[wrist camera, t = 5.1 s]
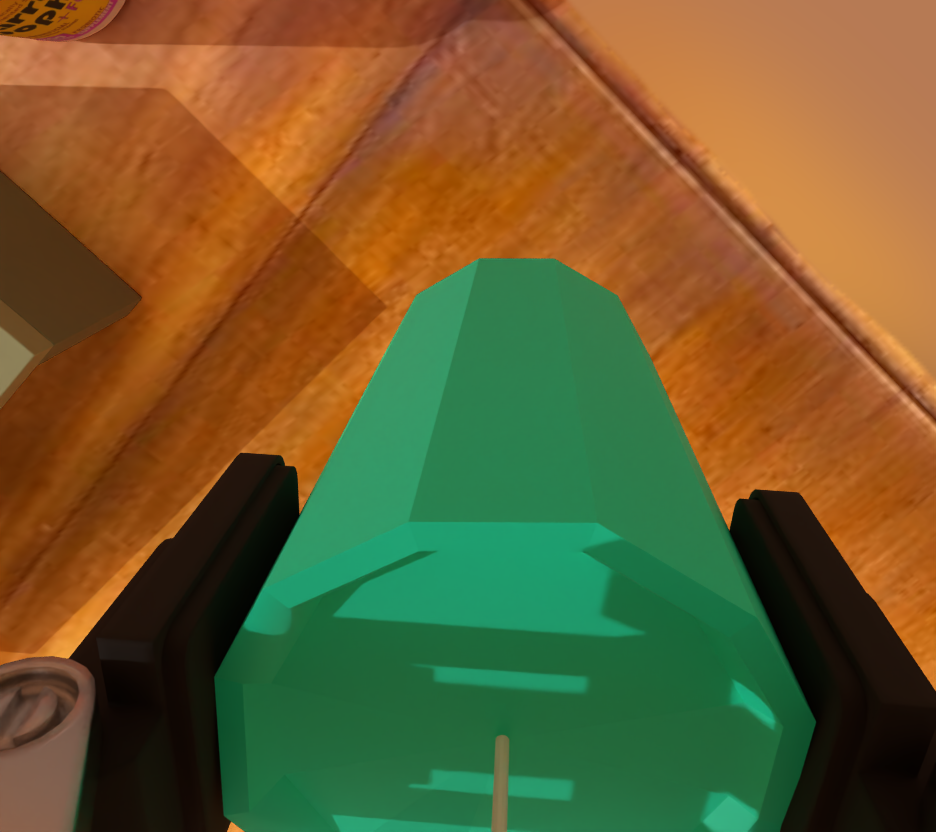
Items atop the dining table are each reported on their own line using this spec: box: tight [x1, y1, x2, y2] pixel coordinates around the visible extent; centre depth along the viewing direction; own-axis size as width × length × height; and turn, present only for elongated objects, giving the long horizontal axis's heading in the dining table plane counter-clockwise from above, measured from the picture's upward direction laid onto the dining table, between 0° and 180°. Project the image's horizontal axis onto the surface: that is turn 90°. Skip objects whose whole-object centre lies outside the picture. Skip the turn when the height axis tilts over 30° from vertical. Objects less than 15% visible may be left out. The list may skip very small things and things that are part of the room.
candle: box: [214, 258, 816, 832], centre depth 12 cm, size 6×6×12 cm
